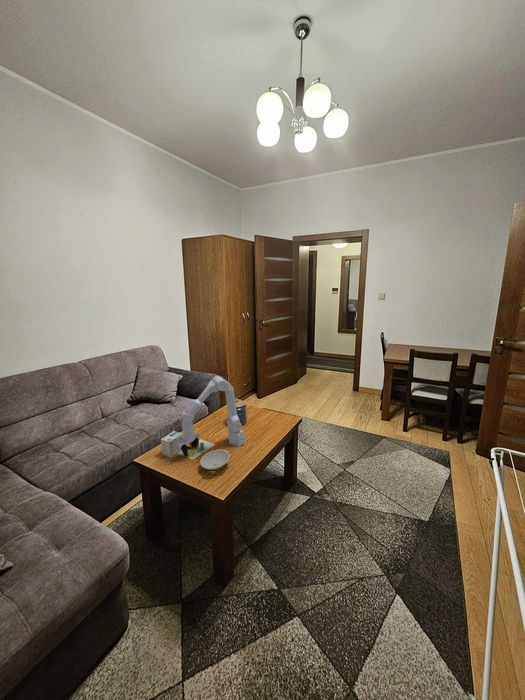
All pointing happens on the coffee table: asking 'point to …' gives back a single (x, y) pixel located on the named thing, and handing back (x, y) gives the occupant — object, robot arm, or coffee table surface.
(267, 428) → the coffee table surface
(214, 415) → the coffee table surface
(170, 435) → the light bulb box
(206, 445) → the gear board
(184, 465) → the coffee table surface
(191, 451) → the gear
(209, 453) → the dish
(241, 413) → the canister
